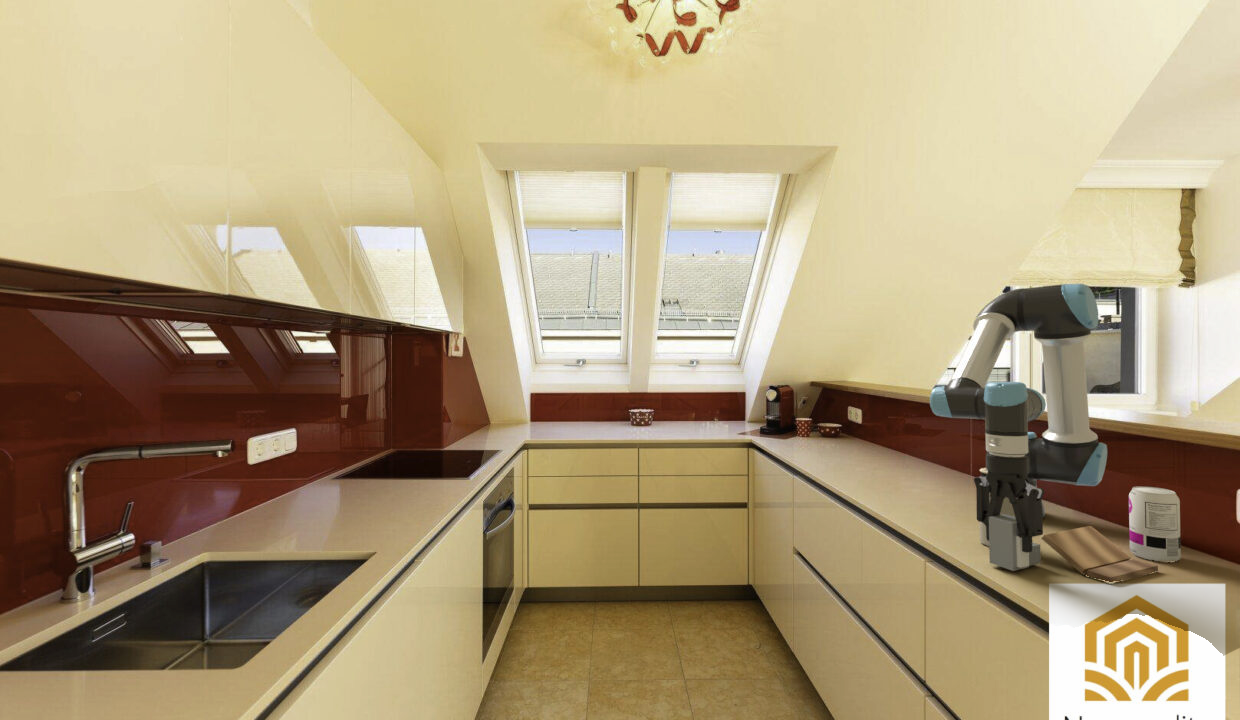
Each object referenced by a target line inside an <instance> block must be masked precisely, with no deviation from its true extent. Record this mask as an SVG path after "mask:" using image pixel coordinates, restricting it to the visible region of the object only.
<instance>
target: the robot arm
mask: <svg viewBox="0 0 1240 720" xmlns="http://www.w3.org/2000/svg"><path fill="white" fill-rule="evenodd" d="M1099 321H1100V319H1099V309H1098V304H1097V300H1096V297H1095V294H1094V293H1093V291H1092V289H1091V288H1090V287H1089V286H1088V285H1087V284H1084V283H1061V284H1055V285H1043V286H1036V287H1027V288H1017V289H1013V290H1009V291H1006V292H1004V293H1001V295H999V296H997V297H995V298H993V299H992V300H991V301H990V302H989V303H987V304H986V305H985V306H984V307H983V308H982V309H981V310H980V311H979V313H978V314H977V316H976V317H975V320H974V322H973V325H972V327H973V333H972V335H971V337H970V339H969V342H968V344H967V345H966V348H965V350H964V352H963V354H962V356H961V357H960V360H959V361H958V363H957V366H956V368H955V370H954V372H953V375H952V377H951V378H950V381H949V382H948V384H947V386H945V385H942V386H936V387H934V388H933V389H932V390H931V393H930V396H929V406H930V408H931V411H932V413H933V414H934V415H935V416H938V417H943V418H950V419H970V420H971V419H972V420H973V419H974V420H984V421H985V423H984V425H985V426H984V429H985V433H984V434H985V450H986V454H985V468H986V469H987V470H988V473H987V475H986V477H984V476H982V475H981V476H977V477H974V478H973V481H974V486H975V488H976V490H975V491H976V520H977V522H982V523H984V524H985V526H986V538H987V540H988V541H989V517H992V516H997V515H1000V512H1001V508H1002V504H1003V500H1004V498H1005V497H1007V498H1009V502H1010V503H1011V504H1012V507H1013V510H1014V514H1015V518H1016V521H1017V525H1018V529H1019V532H1020V534H1018V535H1017V536H1016V553H1017V567H1020V568H1022V567H1026V566H1029V552H1032V542H1033V538H1034V537H1039V536H1042V535H1043V533H1044V530H1043V529H1044V527H1043V518H1045V517H1046V508H1045V506H1044V503H1043V498H1044V495H1045V489H1044V488H1042V487H1039V488H1038V486H1037V483H1038V482H1037V480H1040V481H1046V482H1051V483H1053V482H1054V483H1060V484H1068V485H1075V486H1087V487H1095V486H1098V485H1099V484H1101V483H1100V482H1101V481H1102V480H1103V476H1104V474H1105V470H1106V466H1107V459H1108V446H1107V444H1106V443H1103V442H1099V436H1098V434H1097V433H1096V432H1094V431H1093V430H1092V429H1090V415H1089V400H1088V387H1087V384H1088V383H1087V371H1086V359H1085V340H1087V339H1088V338H1089V337H1090V336H1091V335H1092V332H1091V330H1093V329H1095V328H1097V327H1098V325H1099ZM1017 332H1018V333H1019V332H1033V336H1034V339H1035V340H1036V341H1037V342H1039V343H1040V344H1041V347H1042V348H1041V350H1042V361H1043V372H1044V375H1043V376H1044V385H1045V397H1046V398H1044V396H1043V395H1042V394H1041V393H1040V392H1039V391H1038V390H1036V389H1033V388H1029V387H1027V385H1026V384H1025V383H1024V382H1019V381H990V382H989V381H988V380H989V378H990V377H991V375H992V372H993V370H994V367H995V365H996V363H997V361H998V359H999V356H1000V354H1001V352H1002V351H1003V348H1004V345H1005V343H1006V341H1007V340H1009V339H1011V337H1013V335H1014V334H1015V333H1017ZM1045 399H1046V400H1045ZM1045 410H1046V412H1047V425H1048V428H1047V429H1046V430H1045V431H1044V432H1042V434H1041V437H1042V438H1041V437H1038V436H1037V434H1036V432H1033V431H1029V430H1028V427H1029V425H1028V423H1029V422H1032V421H1034V420H1036V419H1038V418H1039V417H1040V416H1042V414H1044V412H1045ZM989 484H990V486H991V488H992V489H991V493H990V497H991V499H990V503H989V486H988V485H989ZM1016 498H1018V499H1016ZM1029 567H1030V566H1029Z"/></svg>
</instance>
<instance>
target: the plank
mask: <svg viewBox="0 0 1240 720" xmlns="http://www.w3.org/2000/svg"><path fill="white" fill-rule="evenodd" d="M1041 540H1042V541H1044V542H1045V543H1046V544H1047V545H1048V546H1049V547H1051V549H1053V550H1054V551H1055V552H1056V553H1058V554H1059V555H1060V556H1061V557H1062V558H1063V559H1065V560H1066V562H1068V563H1069V564H1070V565H1071V566H1072V567H1074V568H1075V570H1077V571H1078V573H1080V574H1081V575H1084V573H1087V570H1091V569H1095V568H1099V567H1103V566H1107V565H1112V564H1116V563H1120V562H1124V561H1128V560H1132V557H1131V556H1130V555H1129V554H1128V553H1126V552H1124V551H1123V550H1122V549H1121V548H1120V547H1118V546H1117V545H1115V543H1113V542H1112V541H1111V540H1109V539H1108V538H1107V537H1106V536H1104V535H1103V534H1102V533H1100V532H1099V531H1098V530H1097V529H1095V528H1094V527H1093V526H1091V525H1087V526H1082V527H1078V528H1071V529H1067V530H1062V531H1058V532H1051V533H1047V534H1044V535H1043V536H1042V538H1041Z"/></svg>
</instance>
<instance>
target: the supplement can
mask: <svg viewBox="0 0 1240 720" xmlns="http://www.w3.org/2000/svg"><path fill="white" fill-rule="evenodd" d="M1180 500H1181V499H1180V498H1179V496H1178V495H1177V493H1176V492H1175V491H1174V490H1170V489H1167V488H1161V487H1154V486H1153V487H1152V486H1133V487H1132V488H1131V490H1130V492H1129V494H1128V515H1129V516H1128V520H1129V521H1128V522H1129V524H1128V525H1129V531H1128V533H1129V551H1130V552H1131V553H1132V554H1133V555H1134V556H1136V557H1138V558H1140V557H1141V558H1142V559H1144V560H1147V559H1148V561H1152V560H1154V561H1153V562H1158V561H1169V562H1170V561H1176V562H1177V561H1179V560H1181V559H1182V557H1181V556H1182V555H1181V554H1182V552H1181V550H1182V549H1181V546H1182V545H1181V510H1180V509H1181V508H1180V507H1181V501H1180ZM1170 563H1171V562H1170Z"/></svg>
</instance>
